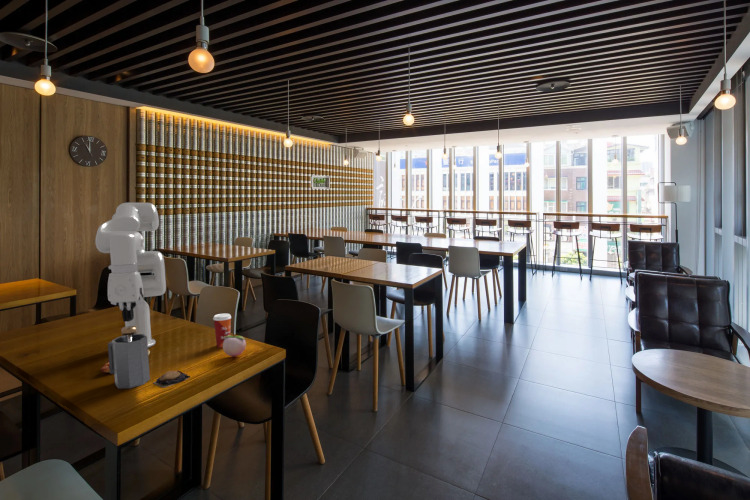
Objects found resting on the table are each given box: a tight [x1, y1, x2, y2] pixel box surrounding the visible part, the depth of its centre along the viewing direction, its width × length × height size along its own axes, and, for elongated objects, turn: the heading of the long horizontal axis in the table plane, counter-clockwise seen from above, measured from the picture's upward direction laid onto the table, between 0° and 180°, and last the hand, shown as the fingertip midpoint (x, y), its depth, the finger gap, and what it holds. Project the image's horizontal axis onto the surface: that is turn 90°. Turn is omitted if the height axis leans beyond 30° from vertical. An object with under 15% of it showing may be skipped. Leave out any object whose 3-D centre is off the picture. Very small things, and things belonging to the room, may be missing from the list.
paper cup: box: [212, 313, 232, 349], centre depth 174 cm, size 8×8×14 cm
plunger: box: [121, 326, 137, 342], centre depth 137 cm, size 8×8×18 cm
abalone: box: [152, 370, 191, 389], centre depth 139 cm, size 11×8×4 cm
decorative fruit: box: [222, 333, 247, 358], centre depth 160 cm, size 9×8×10 cm
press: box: [107, 334, 151, 389], centre depth 137 cm, size 12×10×16 cm
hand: (128, 320), depth 136 cm, fingers closed
